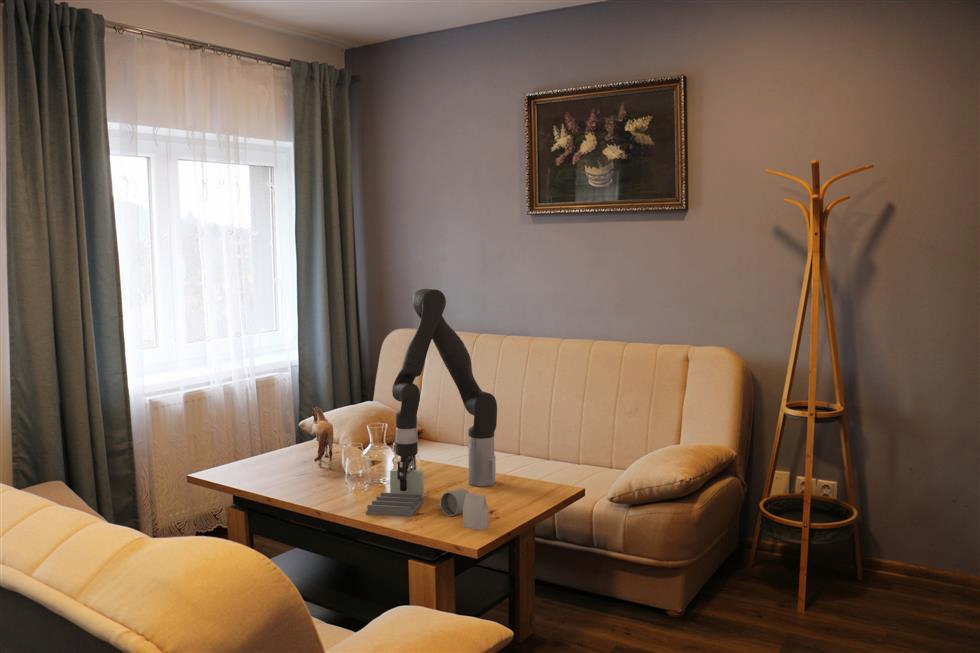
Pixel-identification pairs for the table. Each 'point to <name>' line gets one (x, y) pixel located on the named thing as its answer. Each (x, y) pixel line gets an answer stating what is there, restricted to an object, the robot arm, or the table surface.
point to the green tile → (408, 482)
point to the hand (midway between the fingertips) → (407, 487)
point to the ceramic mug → (453, 502)
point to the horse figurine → (323, 435)
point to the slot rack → (395, 504)
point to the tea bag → (475, 512)
